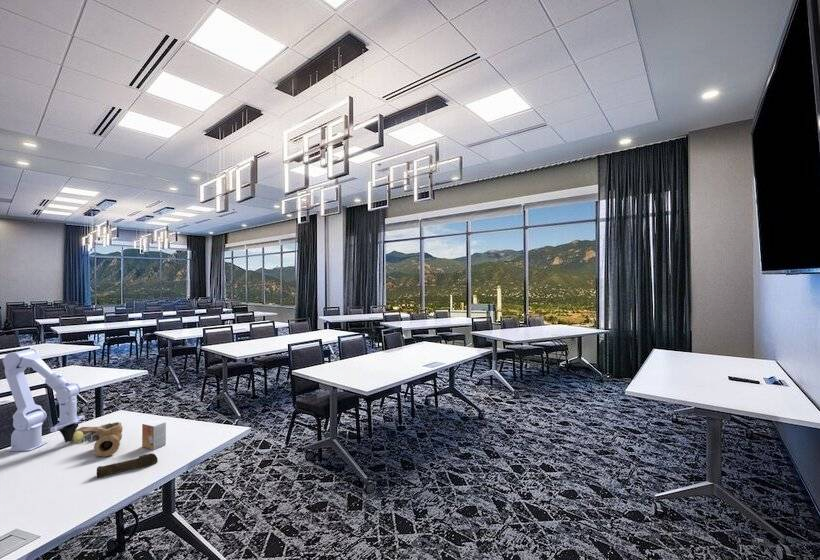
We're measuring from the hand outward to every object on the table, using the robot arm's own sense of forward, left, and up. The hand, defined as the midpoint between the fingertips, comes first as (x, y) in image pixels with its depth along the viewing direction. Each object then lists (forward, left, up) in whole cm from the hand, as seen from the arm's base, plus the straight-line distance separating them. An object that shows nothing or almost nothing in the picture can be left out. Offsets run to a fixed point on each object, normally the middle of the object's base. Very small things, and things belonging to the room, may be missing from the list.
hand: (68, 441), depth 163 cm
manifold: (+4, +8, -2) cm, 9 cm away
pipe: (+22, -5, -2) cm, 23 cm away
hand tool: (+44, -21, -2) cm, 49 cm away
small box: (+40, -1, -2) cm, 40 cm away
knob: (0, +4, -2) cm, 4 cm away
